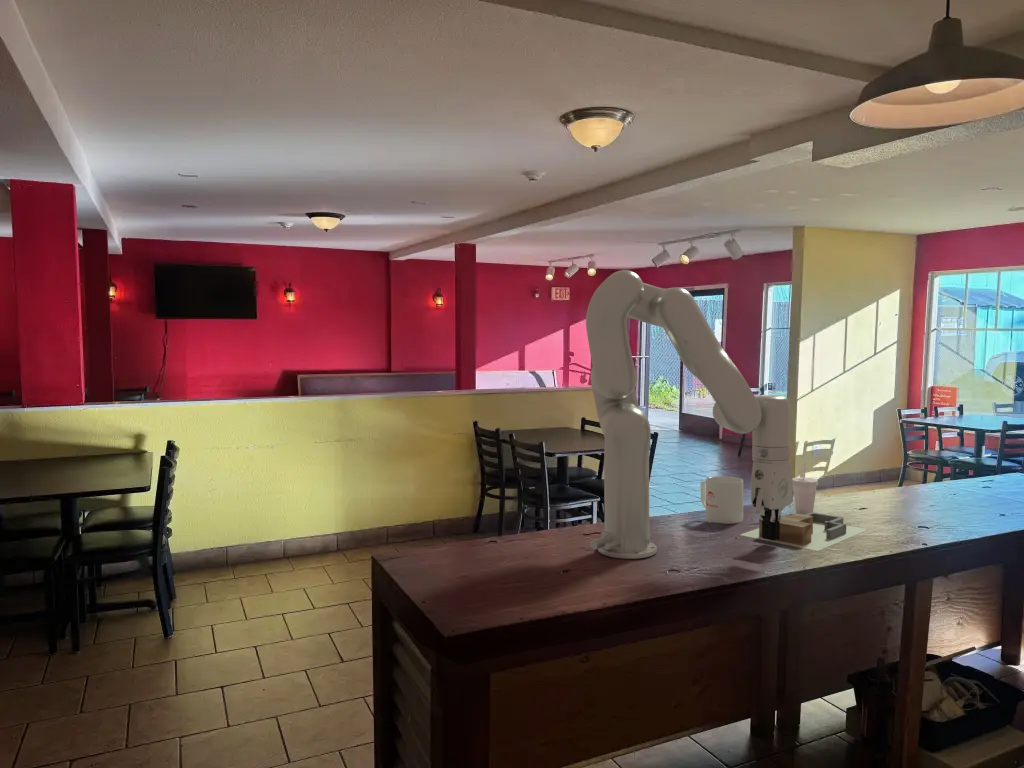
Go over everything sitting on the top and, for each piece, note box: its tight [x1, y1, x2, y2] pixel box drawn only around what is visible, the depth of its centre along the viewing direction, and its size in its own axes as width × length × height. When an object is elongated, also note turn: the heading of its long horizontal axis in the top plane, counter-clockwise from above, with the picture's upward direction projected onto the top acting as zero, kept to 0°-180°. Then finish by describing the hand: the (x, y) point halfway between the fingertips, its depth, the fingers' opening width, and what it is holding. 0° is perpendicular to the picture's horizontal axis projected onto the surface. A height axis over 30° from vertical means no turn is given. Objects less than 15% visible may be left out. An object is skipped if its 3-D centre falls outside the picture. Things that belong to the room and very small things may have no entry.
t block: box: [758, 512, 813, 546], centre depth 158 cm, size 11×10×4 cm
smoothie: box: [792, 461, 819, 515], centre depth 180 cm, size 6×6×14 cm
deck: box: [739, 511, 869, 552], centre depth 162 cm, size 25×18×3 cm
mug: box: [700, 475, 744, 525], centre depth 176 cm, size 12×9×11 cm
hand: (770, 538), depth 152 cm, fingers closed
